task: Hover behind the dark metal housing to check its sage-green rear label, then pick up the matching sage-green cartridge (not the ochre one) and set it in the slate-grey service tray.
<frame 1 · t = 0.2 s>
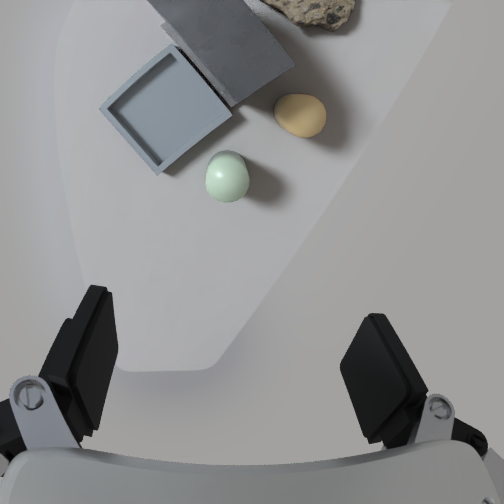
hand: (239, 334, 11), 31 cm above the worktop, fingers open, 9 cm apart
housing: (221, 46, 30), on the worktop
ochre cartridge: (292, 112, 35), on the worktop
sage cartridge: (226, 168, 38), on the worktop
tray: (165, 108, 33), on the worktop
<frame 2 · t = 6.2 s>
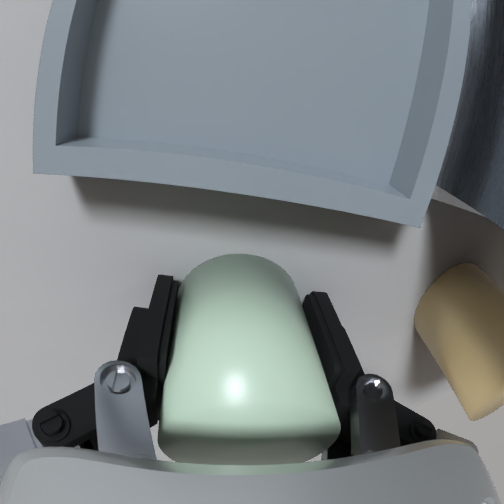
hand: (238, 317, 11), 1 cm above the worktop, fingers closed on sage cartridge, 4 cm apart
ochre cartridge: (450, 302, 13), on the worktop
sage cartridge: (237, 306, 12), on the worktop, touching gripper
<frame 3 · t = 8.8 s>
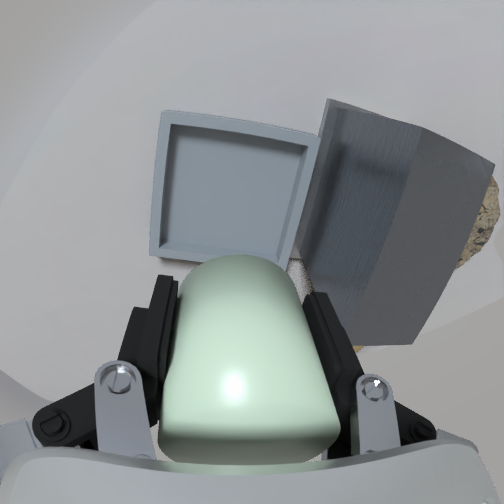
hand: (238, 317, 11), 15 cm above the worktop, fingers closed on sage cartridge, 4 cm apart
rock: (446, 216, 28), on the worktop
housing: (347, 188, 25), on the worktop
sage cartridge: (237, 307, 12), point 14 cm above the worktop, touching gripper
tray: (228, 190, 25), on the worktop
when the fingers open (3 cm above the worktop, at t = 11.8 s): sage cartridge drops 1 cm, resting on tray.
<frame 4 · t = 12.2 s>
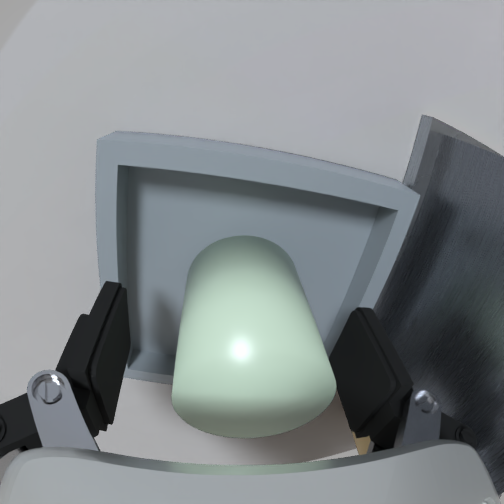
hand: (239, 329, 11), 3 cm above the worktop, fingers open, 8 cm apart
housing: (431, 264, 15), on the worktop
sage cartridge: (242, 285, 13), point 1 cm above the worktop, touching tray
tray: (240, 277, 14), on the worktop
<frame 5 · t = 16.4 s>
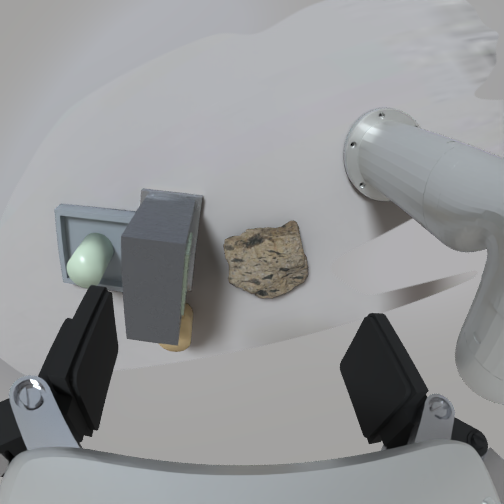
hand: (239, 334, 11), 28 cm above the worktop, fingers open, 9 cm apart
rock: (264, 256, 43), on the worktop
housing: (168, 242, 40), on the worktop
ochre cartridge: (177, 312, 46), on the worktop
sage cartridge: (97, 248, 38), point 1 cm above the worktop, touching tray
tray: (98, 246, 39), on the worktop
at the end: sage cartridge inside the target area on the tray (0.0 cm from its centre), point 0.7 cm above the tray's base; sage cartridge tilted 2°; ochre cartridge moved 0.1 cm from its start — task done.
